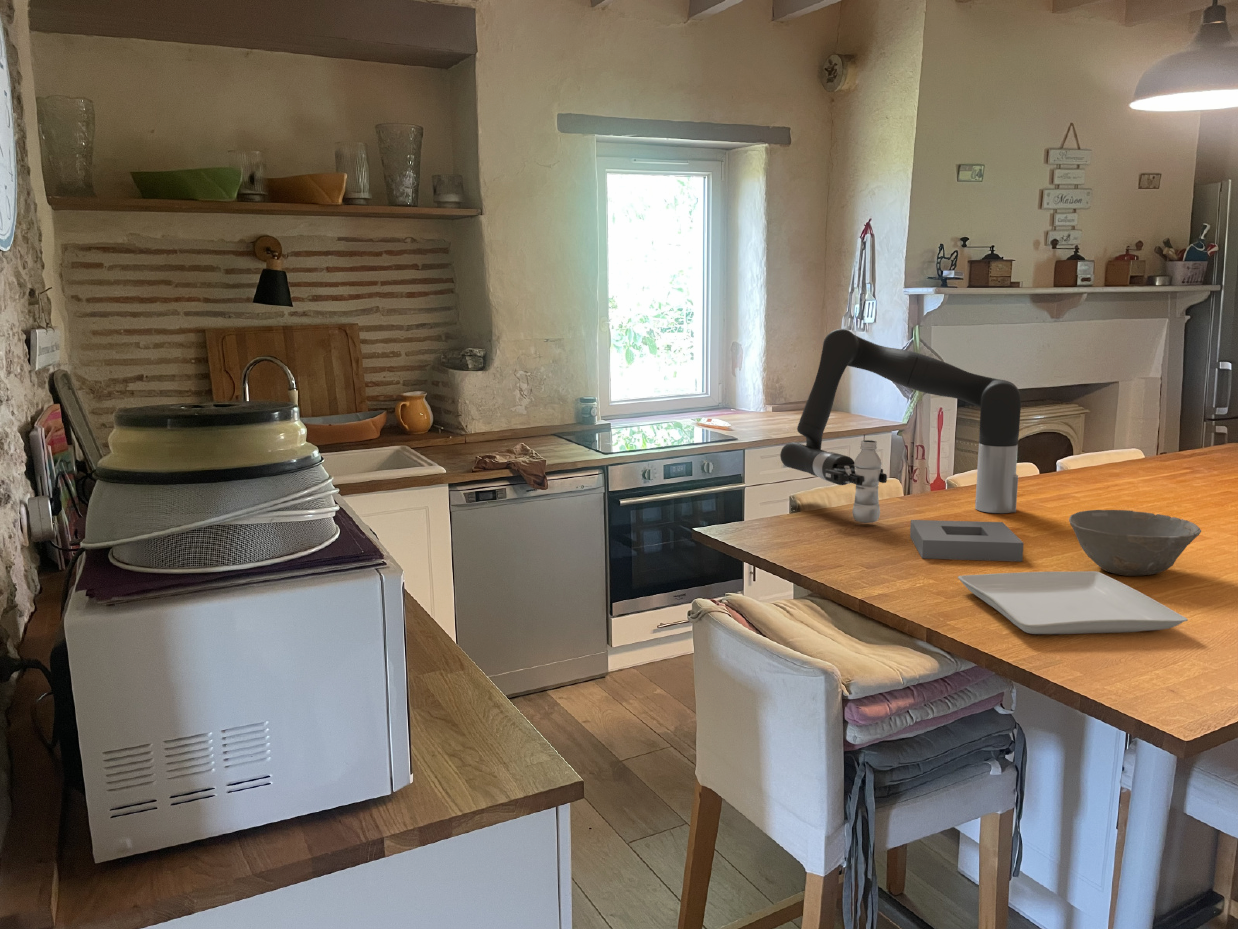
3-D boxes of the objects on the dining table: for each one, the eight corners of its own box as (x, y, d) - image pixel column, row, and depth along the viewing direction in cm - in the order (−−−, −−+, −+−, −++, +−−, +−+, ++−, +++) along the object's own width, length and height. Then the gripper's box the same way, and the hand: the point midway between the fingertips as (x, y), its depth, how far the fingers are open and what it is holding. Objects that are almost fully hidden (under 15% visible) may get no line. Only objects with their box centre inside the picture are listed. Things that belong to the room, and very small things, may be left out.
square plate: (1095, 588, 172) (1097, 568, 171) (1189, 641, 145) (1191, 618, 145) (954, 591, 171) (955, 571, 171) (1022, 645, 144) (1024, 622, 144)
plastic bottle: (884, 522, 221) (888, 440, 217) (870, 527, 216) (873, 444, 212) (861, 517, 225) (864, 438, 221) (846, 522, 220) (849, 441, 217)
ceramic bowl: (1040, 562, 188) (1043, 515, 186) (1123, 550, 195) (1126, 505, 194) (1134, 594, 167) (1139, 541, 165) (1222, 579, 175) (1227, 529, 173)
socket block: (1001, 539, 206) (1002, 522, 205) (1022, 561, 188) (1023, 543, 188) (910, 536, 209) (910, 519, 208) (922, 558, 192) (922, 540, 191)
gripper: (809, 455, 228) (848, 466, 213) (858, 451, 233) (899, 462, 218) (809, 484, 230) (847, 498, 214) (857, 479, 235) (898, 492, 219)
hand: (873, 479), depth 216 cm, fingers closed on plastic bottle, 6 cm apart
